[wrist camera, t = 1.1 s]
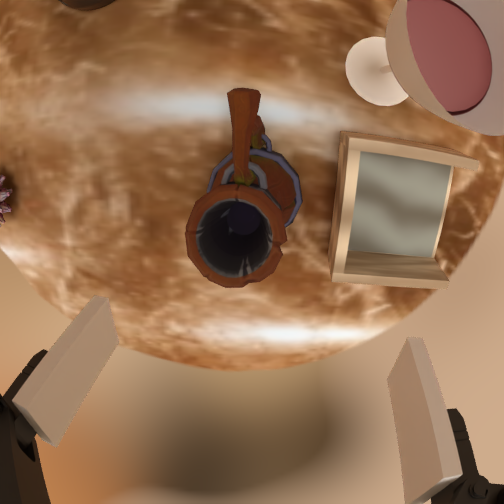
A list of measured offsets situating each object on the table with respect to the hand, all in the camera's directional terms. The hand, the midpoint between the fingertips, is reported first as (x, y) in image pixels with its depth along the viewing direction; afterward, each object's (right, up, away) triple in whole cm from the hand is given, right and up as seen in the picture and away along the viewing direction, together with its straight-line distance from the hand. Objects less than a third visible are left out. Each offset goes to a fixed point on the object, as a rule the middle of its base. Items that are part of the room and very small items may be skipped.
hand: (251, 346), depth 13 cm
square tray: (+18, +10, +24) cm, 31 cm away
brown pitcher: (+1, +14, +25) cm, 28 cm away
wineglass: (+15, +25, +17) cm, 33 cm away
